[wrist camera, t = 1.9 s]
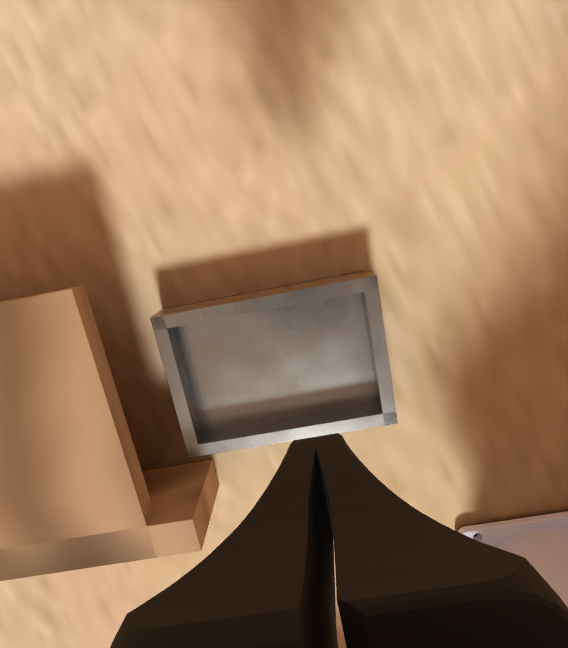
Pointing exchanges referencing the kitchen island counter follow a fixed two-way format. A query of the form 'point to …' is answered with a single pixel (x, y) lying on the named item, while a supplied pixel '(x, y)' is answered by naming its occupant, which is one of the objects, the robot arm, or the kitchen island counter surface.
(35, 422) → the overhang
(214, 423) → the tray
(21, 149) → the kitchen island counter surface
